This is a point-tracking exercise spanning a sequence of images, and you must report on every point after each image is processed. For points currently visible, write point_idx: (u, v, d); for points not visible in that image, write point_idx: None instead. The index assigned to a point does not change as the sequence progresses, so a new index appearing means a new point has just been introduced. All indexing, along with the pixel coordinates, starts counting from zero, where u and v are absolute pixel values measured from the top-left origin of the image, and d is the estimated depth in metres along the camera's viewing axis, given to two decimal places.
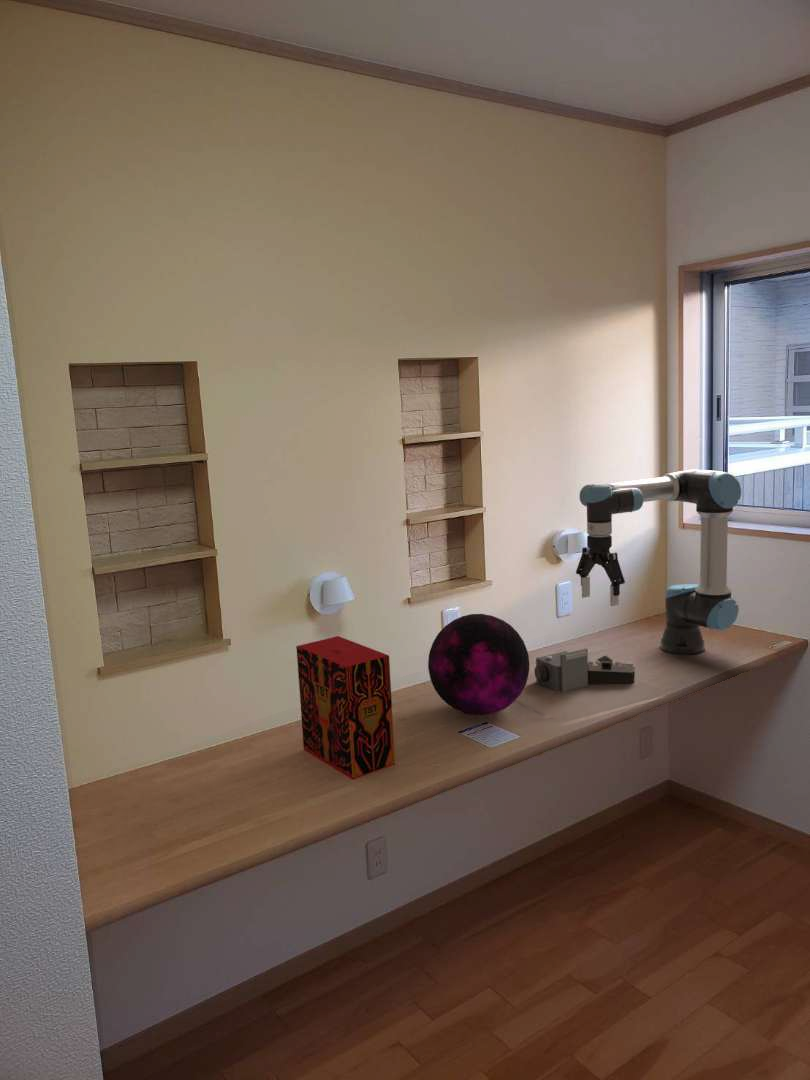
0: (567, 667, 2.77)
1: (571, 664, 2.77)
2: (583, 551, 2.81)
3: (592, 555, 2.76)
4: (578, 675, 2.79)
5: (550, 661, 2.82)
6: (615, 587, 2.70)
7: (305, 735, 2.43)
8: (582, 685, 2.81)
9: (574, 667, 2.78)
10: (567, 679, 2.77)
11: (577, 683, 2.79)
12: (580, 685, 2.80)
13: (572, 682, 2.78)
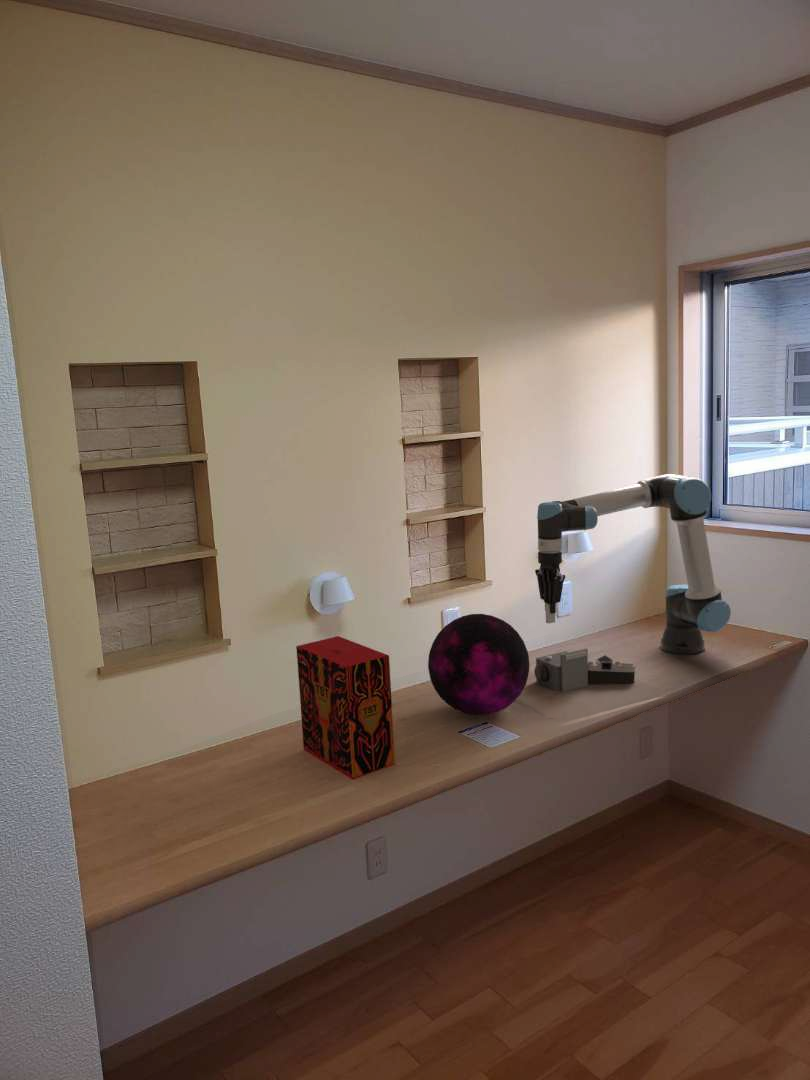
0: (567, 667, 2.77)
1: (571, 664, 2.77)
2: (536, 573, 2.88)
3: (543, 570, 2.83)
4: (578, 675, 2.79)
5: (550, 661, 2.82)
6: (551, 605, 2.84)
7: (305, 735, 2.43)
8: (582, 685, 2.81)
9: (574, 667, 2.78)
10: (567, 679, 2.77)
11: (577, 683, 2.79)
12: (580, 685, 2.80)
13: (572, 682, 2.78)
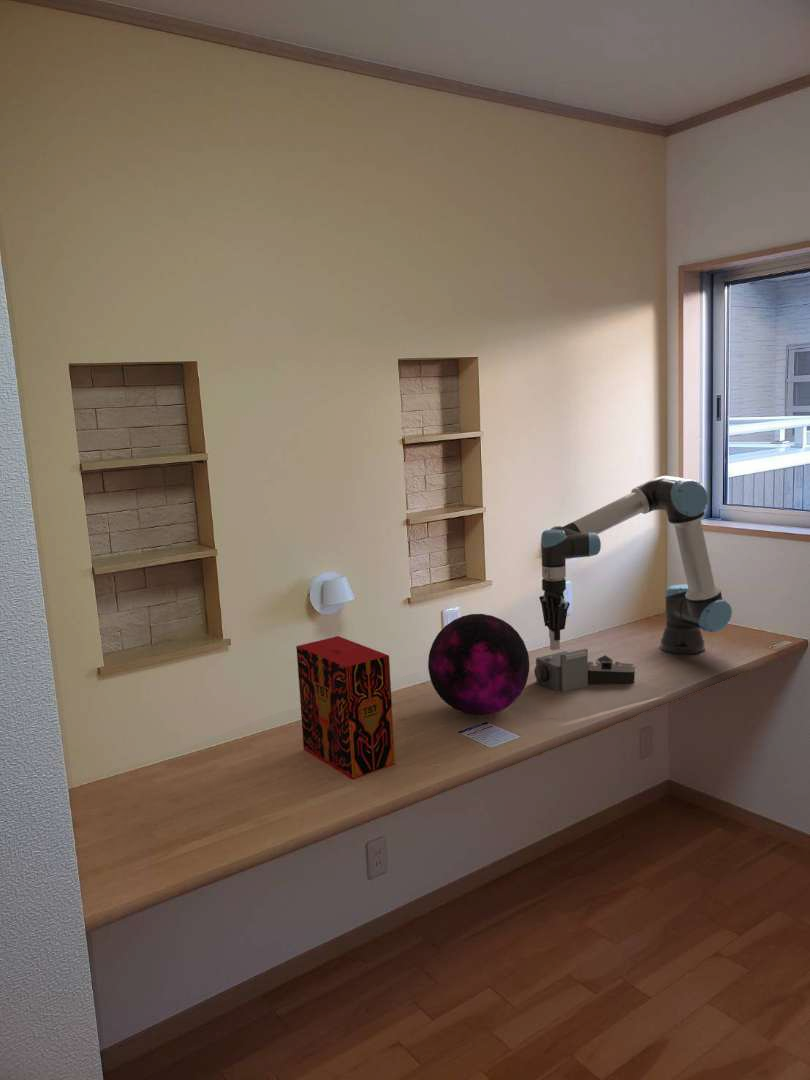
0: (567, 667, 2.77)
1: (571, 664, 2.77)
2: (541, 600, 2.88)
3: (547, 597, 2.83)
4: (578, 675, 2.79)
5: (550, 661, 2.82)
6: (556, 632, 2.84)
7: (305, 735, 2.43)
8: (582, 685, 2.81)
9: (574, 667, 2.78)
10: (567, 679, 2.77)
11: (577, 683, 2.79)
12: (580, 685, 2.80)
13: (572, 682, 2.78)
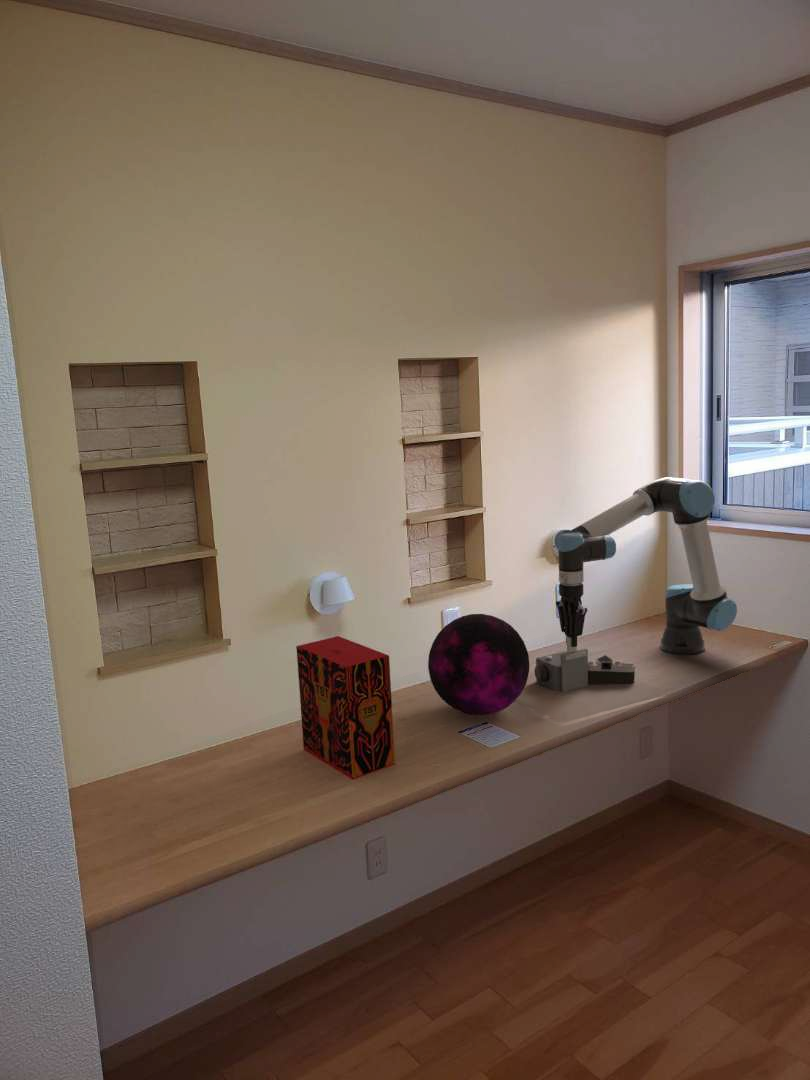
0: (567, 667, 2.77)
1: (571, 664, 2.77)
2: (557, 605, 2.80)
3: (564, 602, 2.76)
4: (578, 675, 2.79)
5: (550, 661, 2.82)
6: (573, 638, 2.76)
7: (305, 735, 2.43)
8: (582, 685, 2.81)
9: (574, 667, 2.78)
10: (567, 679, 2.77)
11: (577, 683, 2.79)
12: (580, 685, 2.80)
13: (572, 682, 2.78)
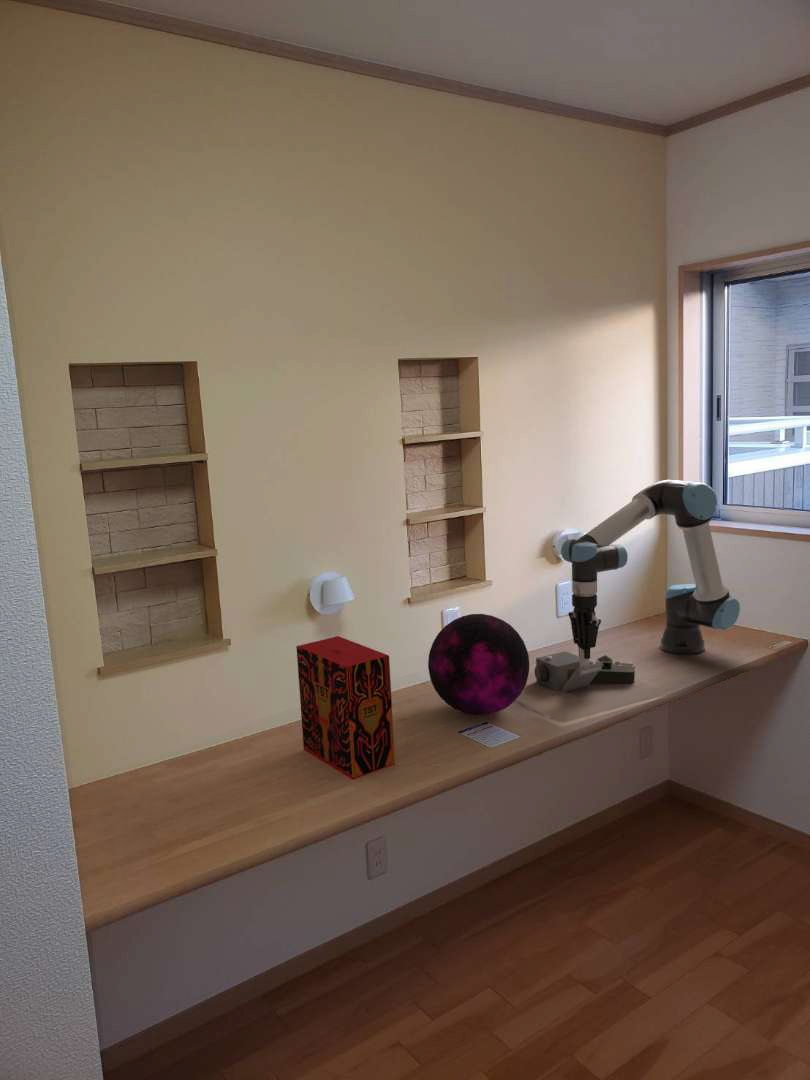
0: (577, 677, 2.73)
1: (582, 675, 2.73)
2: (570, 616, 2.75)
3: (577, 613, 2.71)
4: (583, 681, 2.77)
5: (550, 661, 2.82)
6: (586, 650, 2.71)
7: (305, 735, 2.43)
8: (582, 686, 2.80)
9: (583, 677, 2.75)
10: (572, 685, 2.76)
11: (579, 686, 2.79)
12: None
13: (575, 686, 2.77)
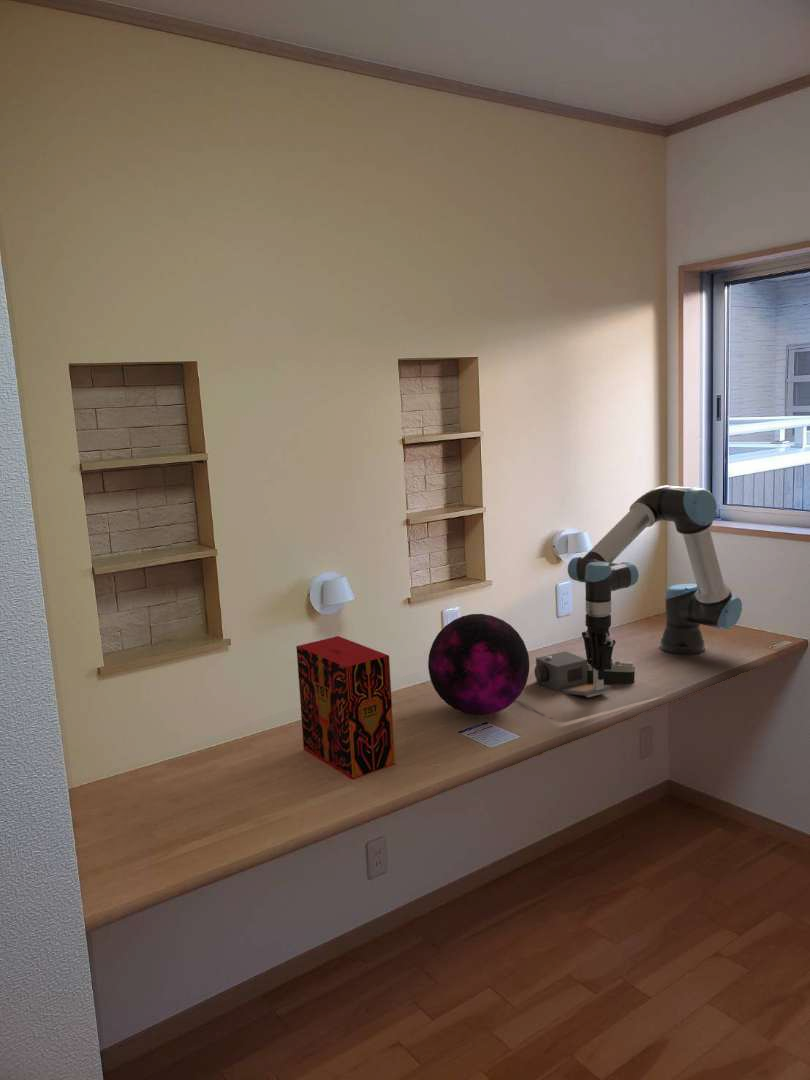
0: None
1: None
2: (583, 636, 2.70)
3: (590, 634, 2.66)
4: None
5: (550, 661, 2.82)
6: (600, 671, 2.66)
7: (305, 735, 2.43)
8: None
9: None
10: None
11: None
12: None
13: None
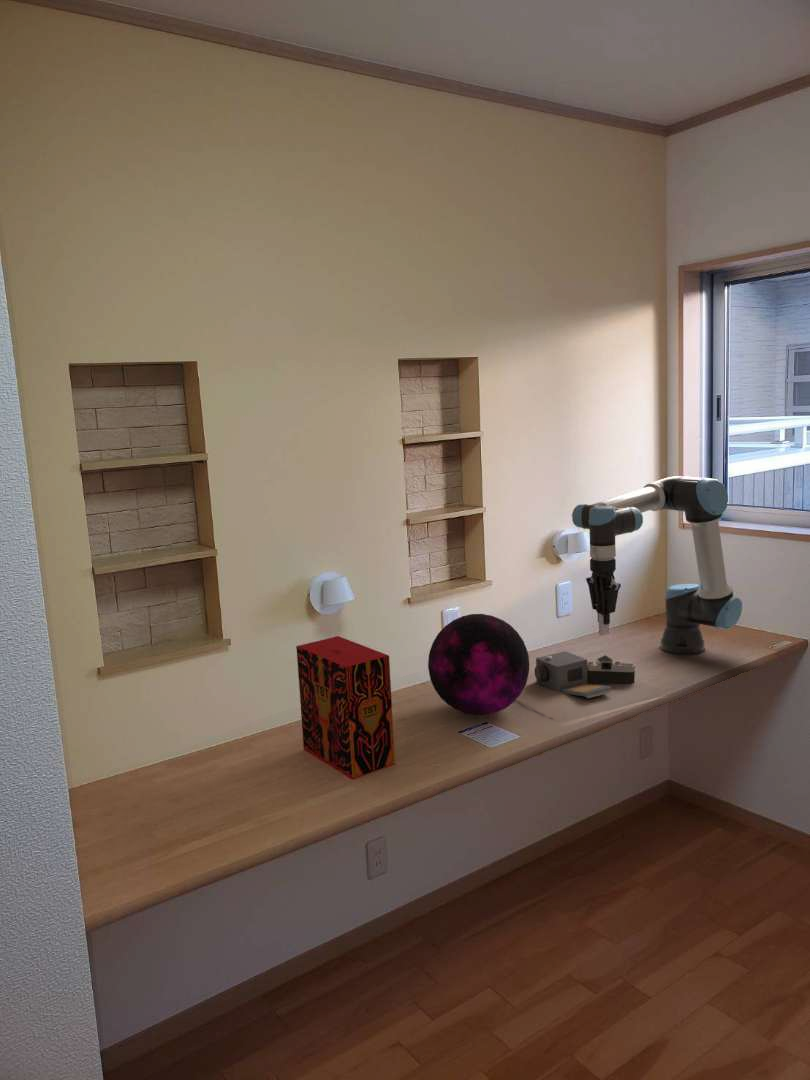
0: None
1: None
2: (588, 581, 2.69)
3: (595, 578, 2.65)
4: None
5: (550, 661, 2.82)
6: (605, 616, 2.66)
7: (305, 735, 2.43)
8: None
9: None
10: None
11: None
12: None
13: None
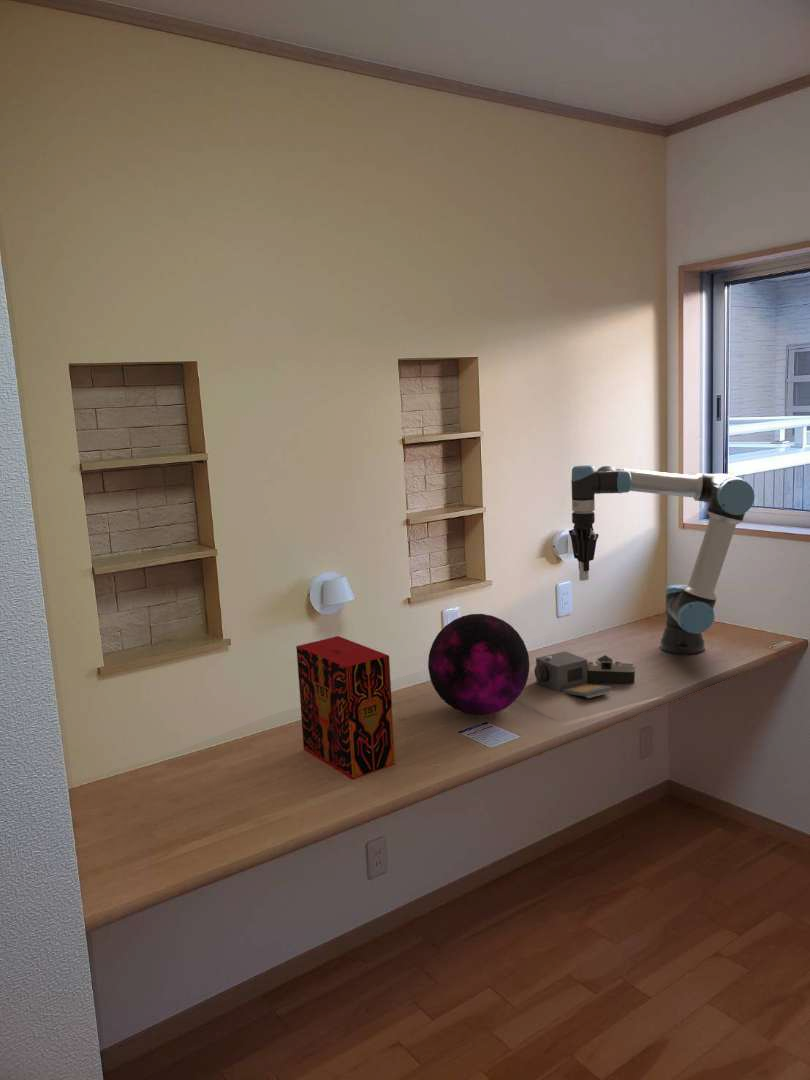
0: None
1: None
2: (570, 533, 3.03)
3: (576, 530, 2.99)
4: None
5: (550, 661, 2.82)
6: (585, 563, 2.99)
7: (305, 735, 2.43)
8: None
9: None
10: None
11: None
12: None
13: None
